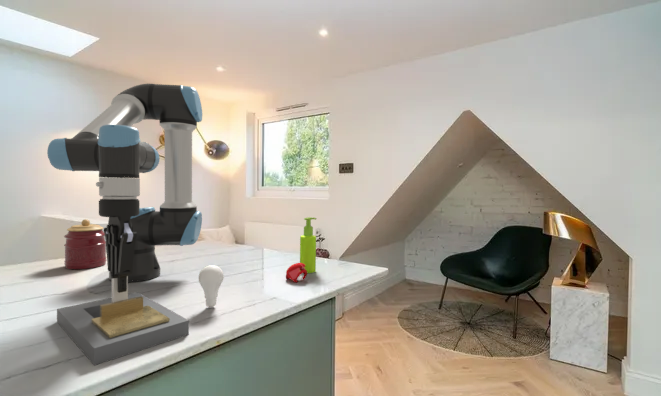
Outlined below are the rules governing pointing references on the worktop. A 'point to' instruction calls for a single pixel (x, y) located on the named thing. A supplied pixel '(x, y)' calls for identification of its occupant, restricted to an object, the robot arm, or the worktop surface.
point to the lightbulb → (211, 283)
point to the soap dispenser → (308, 247)
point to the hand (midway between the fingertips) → (119, 305)
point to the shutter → (127, 317)
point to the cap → (296, 271)
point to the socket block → (105, 348)
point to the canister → (85, 246)
